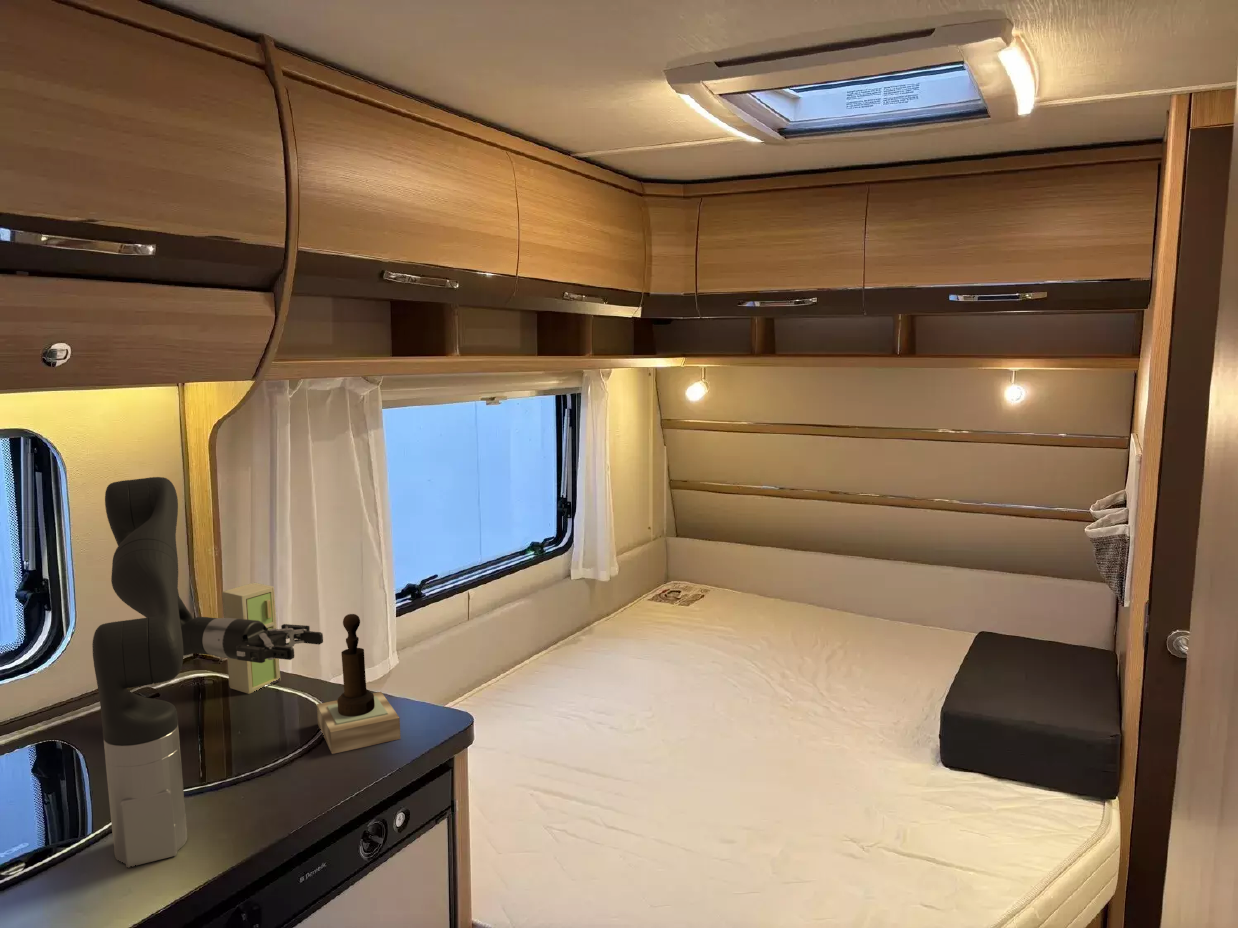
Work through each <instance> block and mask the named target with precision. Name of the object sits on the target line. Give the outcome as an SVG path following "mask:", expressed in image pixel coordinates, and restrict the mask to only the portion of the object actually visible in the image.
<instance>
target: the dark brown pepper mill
mask: <svg viewBox="0 0 1238 928" xmlns="http://www.w3.org/2000/svg"><path fill="white" fill-rule="evenodd" d="M360 625H361V619H360V616H358V614H356V613H349V614H346V615H345V616H344V617H343V619H342V626H343V628H344V629H345V630H346V632H347V637H346V638H345V643H346V646H347V649H344V650H342V651H341V655H340V656H341V666H342V678H343V692H342V693H341V695H340V696H339V697H338V698H337V703H338V712H339V714H341V715H343V716H359V715H363V714H366V713H368V712H370V711H372V710H373V709H374V707H375V703H374V695H373V693H374V692H371V691H370V690H368V689H367V680H366V668H365V667H366V664H365V663H366V662H365V650H364V648H362V647H358V644H359V637H358V635H357V631H358V629H359V626H360Z"/></svg>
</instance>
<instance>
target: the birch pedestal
mask: <svg viewBox="0 0 1238 928" xmlns="http://www.w3.org/2000/svg"><path fill="white" fill-rule="evenodd" d="M372 693H373V695H374V703H375V707H374V709H373V710H372V711H370V712H368V713H366V714H363V715H359V716H343V715H341V714H339V712H338V703H337V700H338V699H337V700H332V701H331V700H330V701H326V702H321V703H317V704H316V712H317V713H316V715H317V716H316V717H317V725H318V727H319V730H320V729H321V730H320V732H321V731H322V732H321V734H322V733H323V734H322V736H323V735H324V736H323V738H324V739H325V741H326V744H327V746H328V749H329V750H330V753H331V754H332V755H335V754H338V753H342V752H343V753H344V752H347V751H351V750H356V749H361V748H366V747H370V746H374V745H379V744H383V743H388V742H392V741H397V740H401V739H402V738H401V722H400V721H401V720H400V719H401V718H400V717H399V715H398V714H397V712H396V710H395V709H394V707H393V706H392V705H391V704H390V702H389V701H388V699H387V698H386V697H385V695H384V694H383V692H382V691H378V692H372Z"/></svg>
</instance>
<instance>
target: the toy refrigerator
mask: <svg viewBox="0 0 1238 928" xmlns="http://www.w3.org/2000/svg"><path fill="white" fill-rule="evenodd" d="M221 597H222V608H223V609H222V610H223V611H222V612H223V618H236V619H247V620H257V621H260V622H262V623H263V624H264V625H265V626H266V628H267V629H274V628H276V629H278V628H277V625H278V624H277V613H276V612H277V611H276V598H275V597H276V596H275V587H274V586H273V585H267V584H264V583H263V584H262V583H257V582H250V583H248V584H244V585H241V586H237V587H234V588H229V589H226V590H223V591H221ZM226 659H227V671H228V672H227V674H228V685H229V688H230V689H233V690H236V691H238V692H241V693H245V694H248V695H250V694H253V693H255V692H256V690H257V691H260V690H261V689H260V688H262V687H263V686H265V685H267V684H270V683H271V682H273V681H276V680H278V679H279V678H280V679H281V671H280V659H277V658H275V659H273V660H268V659H265V662H263V663H257V662H250V661H242V660H237V659H230V658H226ZM259 689H260V690H259ZM262 689H263V688H262ZM254 691H255V692H254Z"/></svg>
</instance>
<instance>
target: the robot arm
mask: <svg viewBox="0 0 1238 928" xmlns="http://www.w3.org/2000/svg"><path fill="white" fill-rule="evenodd" d="M104 505H105V513H106V518H107V521H108V524H109V527H110V530H111V532H112V534H113V537H114V540H115V542H116V544H117V548H116V549H115V551H114V553H113V556H112V564H111V565H112V568H111V578H110V579H111V586H112V589H113V591H114V593H115V594H116V596H117V597H118V598H119V599H120V600H121V601H122V602H123V603H124V604H125V605H127V606H128V607H129V608H131V609H132V610H134V611H135V612H137V613H139V614H141V615H142V616H144V617H141V618H134V619H133V618H132V619H128V620H127V619H126V620H118V621H111V622H106V623H102V624H100V625H99V626H97V628H96V629H95V631H94V634H93V637H92V644H91V645H92V658H93V659H92V660H93V667H94V673H95V679H96V685H97V691H98V692H97V693H98V697H99V704H100V705H99V706H100V714H101V724H102V727H101V728H102V738H103V747H104V748H103V749H104V758H105V771H106V780H107V789H108V790H107V792H108V801H109V802H108V803H109V811H110V821H111V822H110V823H111V832H112V841H113V842H112V843H113V853H114V858H115V859H116V860H117V861H118V860H119V861H121V862H120V863H122V862H123V864H125V867H126V868H127V867H128V868H131V867H130V866H132V867H135V865H136V866H139V865H144V864H149V863H151V862H155V861H160V860H163V859H167V858H172V857H174V856H175V857H176V856H177V854H178V851H179V850H180V849H181V848H182V847H183V846H184V845H185V844H186V843H187V840H188V830H187V815H186V805H185V793H184V792H185V791H184V782H183V781H184V780H183V769H182V768H183V767H182V755H181V745H180V744H181V743H180V732H179V720H178V719H179V718H178V711H177V708H176V706H175V705H174V704H173V703H171V702H169V701H166V700H164V699H157V698H152V697H146V696H143V695H139V694H137V693H134V692H133V691H130V690H129V689H132V688H135V687H143V686H149V685H153V684H155V685H156V684H160V683H165V682H168V681H169V682H170V681H171V680H173V679H175V678H177V676H178V675H179V674H180V672H181V670H182V667H183V665H184V664H183V663H184V656H188V655H193V654H199V655H207V656H213V657H217V658H221V659H222V658H223V659H227V658H230V659H237V660H242V661H250V662H257V663H263V662H265V659H268V660H273V659H275V658H277V659H279V660H287V661H291V660H293V659H294V658H295V649H294V646H295V645H297V644H298V645H299V644H311V645H321V644H323V643H324V637H323V636H324V635H323V632H320V631H310V630H311V629H310V625H305V624H304V625H301V624H290V623H288V624H287V623H284V624H282V625H280V627H281V628H277V629H276V628H274V629H267V628H266V626H265V625H264V624H263V623H262V622H260V621H257V620H247V619H236V618H224V617H220V618H219V617H211V616H210V617H207V616H198V617H197V616H196V617H193V615H192V614H191V612H190V611H189V610H188V608H187V607H186V606H187V605H185V604H184V602H183V600H182V598H181V597H180V593H179V586H178V585H179V560H178V559H179V557H178V556H179V555H178V550H177V549H178V548H177V540H176V539H177V536H176V535H177V526H178V517H179V516H178V513H179V500H178V494H177V490H176V488H175V486H174V484H173V483H172V481H171V480H170V479H168V478H167V477H161V476H153V477H145V478H143V477H142V478H133V479H127V480H126V479H124V480H119V481H114V482H112V483H111V482H110V483H109V484H108V485H107V487H106V489H105V492H104ZM287 640H289V641H288V642H287ZM119 861H118V862H119Z"/></svg>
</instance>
